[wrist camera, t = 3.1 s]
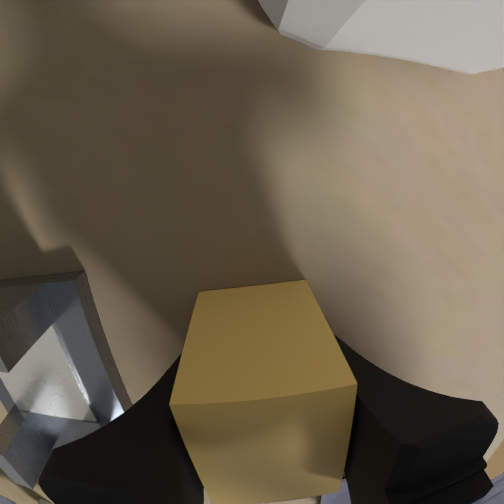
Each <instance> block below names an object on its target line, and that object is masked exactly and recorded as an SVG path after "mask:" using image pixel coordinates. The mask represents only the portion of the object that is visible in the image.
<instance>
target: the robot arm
mask: <svg viewBox="0 0 504 504" xmlns="http://www.w3.org/2000/svg"><path fill="white" fill-rule="evenodd" d="M333 335H334V334H333ZM334 337H335V339H336V341H337V343H338V345H339V347H340V349H341V351H342V353H343V355H344V357H345V359H346V361H347V363H348V365H349V367H350V369H351V371H352V373H353V375H354V378H355V380H356V382H357V392H356V400H355V408H354V415H353V422H352V428H351V434H350V440H349V446H348V452H347V457H346V463H345V468H344V472H345V477H346V478H345V479H342V482H341V487H340V492H335V493H330V494H325V495H321V502H320V504H504V473H502V474H500V475H499V476H497V477H496V478H494V479H492V480H490V479H489V477H488V475H487V474H486V472H485V471H484V469H485V468H486V467H487V463H486V461H485V460H484V458H483V456H484V454H485V453H486V451H487V449H488V448H489V446H490V444H491V443H492V441H493V439H494V437H495V435H496V433H497V430H498V424H499V423H498V421H497V419H496V418H495V417H494V415H493V414H492V413H491V412H490V410H489V409H488V408H487V407H486V405H485V404H484V403H483V402H482V401H475V400H468V399H461V398H455V397H450V396H446V395H442V394H438V393H435V392H432V391H428V390H425V389H423V388H420V387H417V386H415V385H412V384H410V383H407V382H405V381H403V380H401V379H399V378H397V377H395V376H393V375H391V374H389V373H387V372H385V371H383V370H382V369H380V368H379V367H377V366H375V365H374V364H372V363H371V362H369V361H368V360H366V359H365V358H363V357H362V356H361V355H359V354H358V353H357V352H355V351H354V350H353V349H351V348H350V347H349V346H348V345H346V344H345V343H344V342H343V341H342V340H340V339H339V338H338V337H337V336H335V335H334ZM181 355H182V353H181V354H180V355H179V357H178V358H177V359H176V360H175V362H174V363H173V364H172V365H171V367H170V368H169V369H168V370H167V371H166V373H165V374H164V375H163V376H162V377H161V378H160V380H159V381H158V382H157V383H156V384H155V385H154V386H153V387H152V388H151V389H150V390H149V391H148V392H147V393H146V394H145V395H144V396H143V397H142V398H141V399H140V400H139V401H138V402H136V403H135V404H134V405H133V406H132V407H130V408H129V409H128V410H127V411H125V412H124V413H123V414H121V415H120V416H118V417H117V418H115V419H114V420H112V421H111V422H109V423H108V424H106V425H105V426H103V427H101V428H99V429H98V430H96V431H94V432H92V433H90V434H88V435H86V436H84V437H82V438H80V439H78V440H75V441H73V442H70V443H68V444H65V445H62V446H60V447H57V448H54V449H53V450H52V451H51V453H50V455H49V457H48V459H47V461H46V464H45V466H44V468H43V470H42V472H41V474H40V476H39V478H38V483H39V485H40V487H41V489H42V491H43V492H44V493H45V494H46V495H47V496H48V497H49V498H50V499H51V500H52V501H53V502H54V503H55V504H204V486H203V484H202V482H201V480H200V478H199V475H198V473H197V471H196V469H195V467H194V464H193V462H192V460H191V458H190V455H189V453H188V451H187V448H186V446H185V443H184V441H183V439H182V436H181V434H180V431H179V429H178V426H177V424H176V421H175V419H174V416H173V413H172V411H171V408H170V405H169V403H170V399H171V395H172V391H173V387H174V383H175V379H176V375H177V371H178V367H179V363H180V359H181ZM0 504H16V503H15V502H13V501H12V500H10V499H8V498H5V497H3V496H1V495H0Z"/></svg>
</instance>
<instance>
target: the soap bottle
mask: <svg viewBox="0 0 504 504" xmlns="http://www.w3.org/2000/svg"><path fill="white" fill-rule="evenodd" d="M258 1H259V3H260V5H261V7H262V8H263V10H264V11H265V13H266V14H267V16H268V17H269V19H270V20H271V22H272V23H273V25H274V26H275V28H276V29H277V31H278V32H279V34H280V35H283V36H285V37H288V38H290V39H293V40H295V41H298V42H300V43H302V44H305V45H307V46H309V47H312V48H314V49H316V50H330V51H342V52H353V53H361V54H369V55H377V56H384V57H390V58H396V59H402V60H407V61H412V62H417V63H422V64H426V65H431V66H435V67H439V68H443V69H447V70H451V71H455V72H460V73H466V74H476V73H480V72H485V71H489V70H494V69H498V68H503V67H504V0H258Z"/></svg>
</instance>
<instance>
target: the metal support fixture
mask: <svg viewBox="0 0 504 504" xmlns="http://www.w3.org/2000/svg"><path fill="white" fill-rule="evenodd" d="M0 400H1V402H2V404H3V405H4V407H5V408H6V410H7V412H8V414H7V416H6V417H5V419H4V420H3V422H2V423H1V424H0V468H1V469H2V470H3V471H4V472H5V473H6V474H7V476H8V477H9V478H10V479H11V480H12V481H13V482H14V483H17V484H19V485H22V486H24V487H27V488H30V489H33V488H34V486H35V484H36V482H37V479H38V477H39V475H40V473H41V471H42V469H43V467H44V465H45V464H46V461H47V459H48V457H49V455H50V453H51V451H52V450H53V449H54V448H57V447H60V446H62V445H65V444H68V443H70V442H73V441H75V440H78V439H80V438H82V437H84V436H86V435H88V434H90V433H92V432H94V431H96V430H98V429H99V428H101V427H103V426H105V425H106V424H108V423H109V422H111V421H112V420H114V419H115V418H117V417H118V416H120V415H121V414H123V413H124V412H125V411H127V410H128V409H129V408H130V407H132V403H131V401H130V399H129V396H128V394H127V392H126V389H125V387H124V385H123V382H122V380H121V377H120V375H119V372H118V370H117V367H116V365H115V362H114V360H113V357H112V354H111V352H110V349H109V346H108V343H107V341H106V338H105V335H104V332H103V329H102V326H101V323H100V320H99V317H98V314H97V310H96V307H95V304H94V301H93V297H92V294H91V290H90V287H89V283H88V280H87V276H86V272H85V271H81V272H72V273H63V274H54V275H45V276H36V277H27V278H19V279H10V280H1V281H0Z"/></svg>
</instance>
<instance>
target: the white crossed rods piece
mask: <svg viewBox="0 0 504 504" xmlns="http://www.w3.org/2000/svg"><path fill="white" fill-rule="evenodd" d="M38 504H52V503H50V502H48V501H47V500H44V499H40V500H39V503H38Z"/></svg>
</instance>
